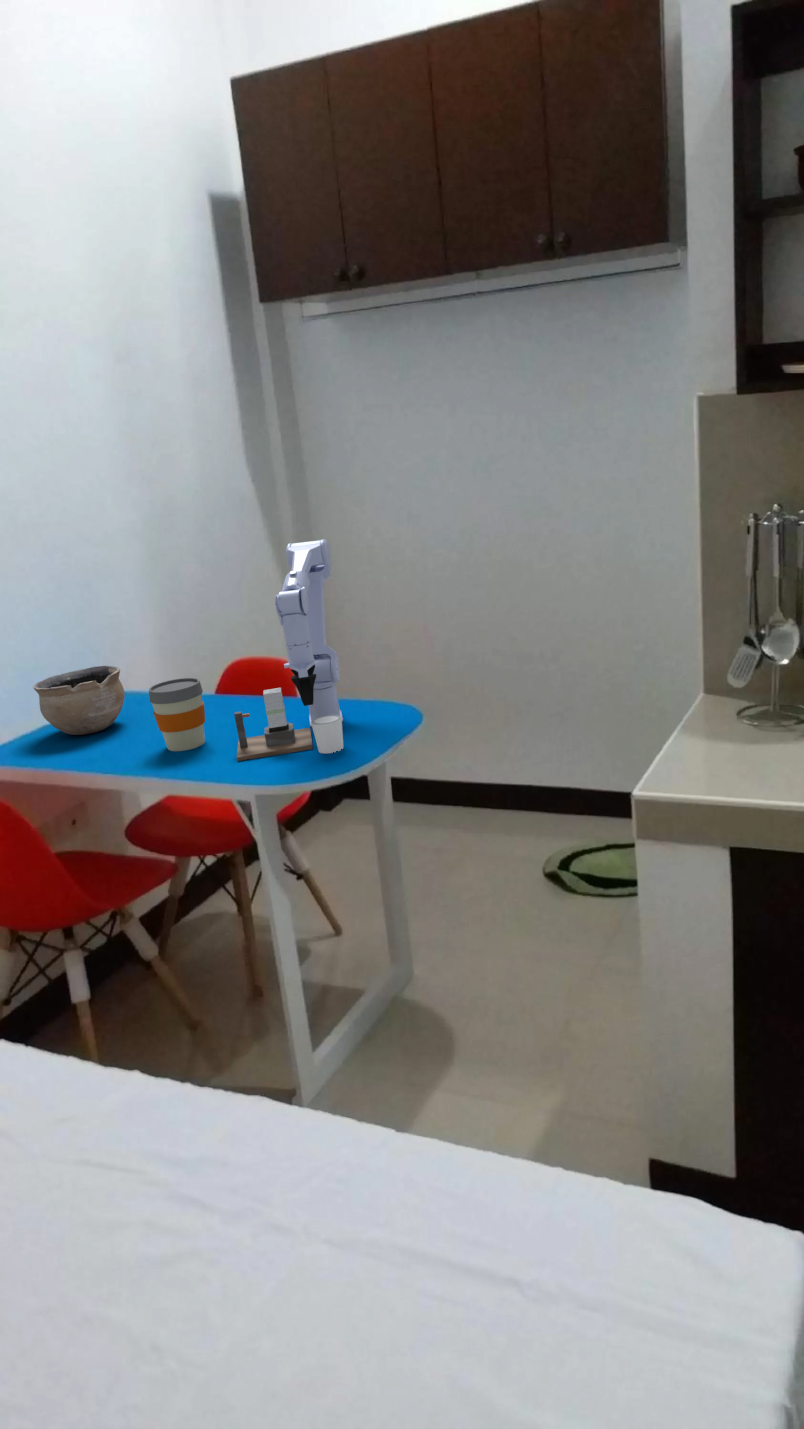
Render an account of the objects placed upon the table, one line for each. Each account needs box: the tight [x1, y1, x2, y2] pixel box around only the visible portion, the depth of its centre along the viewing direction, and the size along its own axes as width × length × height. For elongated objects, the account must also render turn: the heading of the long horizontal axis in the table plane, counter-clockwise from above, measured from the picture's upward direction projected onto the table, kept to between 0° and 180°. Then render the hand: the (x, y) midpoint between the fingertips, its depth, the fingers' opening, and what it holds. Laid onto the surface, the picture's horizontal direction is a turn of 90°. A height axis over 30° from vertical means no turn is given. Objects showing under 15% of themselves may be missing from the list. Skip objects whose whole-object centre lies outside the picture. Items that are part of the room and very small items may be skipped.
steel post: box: [262, 687, 288, 728], centre depth 248 cm, size 4×4×8 cm
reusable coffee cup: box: [148, 677, 206, 752], centre depth 259 cm, size 13×13×15 cm
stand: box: [234, 711, 314, 762], centre depth 249 cm, size 14×17×9 cm
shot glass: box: [311, 715, 344, 754], centre depth 241 cm, size 7×7×7 cm
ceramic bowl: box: [32, 665, 126, 736], centre depth 285 cm, size 22×22×15 cm
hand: (308, 700), depth 248 cm, fingers open, 7 cm apart
